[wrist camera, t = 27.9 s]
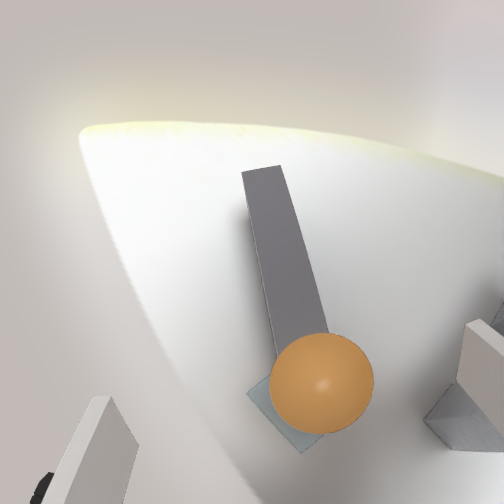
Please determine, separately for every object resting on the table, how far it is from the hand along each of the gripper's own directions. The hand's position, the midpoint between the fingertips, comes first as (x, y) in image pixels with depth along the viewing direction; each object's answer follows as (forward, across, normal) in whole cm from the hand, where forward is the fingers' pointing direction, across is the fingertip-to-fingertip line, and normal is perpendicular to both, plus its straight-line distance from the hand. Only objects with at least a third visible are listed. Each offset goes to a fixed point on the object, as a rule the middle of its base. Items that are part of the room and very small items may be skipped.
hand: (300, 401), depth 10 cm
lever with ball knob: (+14, +1, -4) cm, 15 cm away
